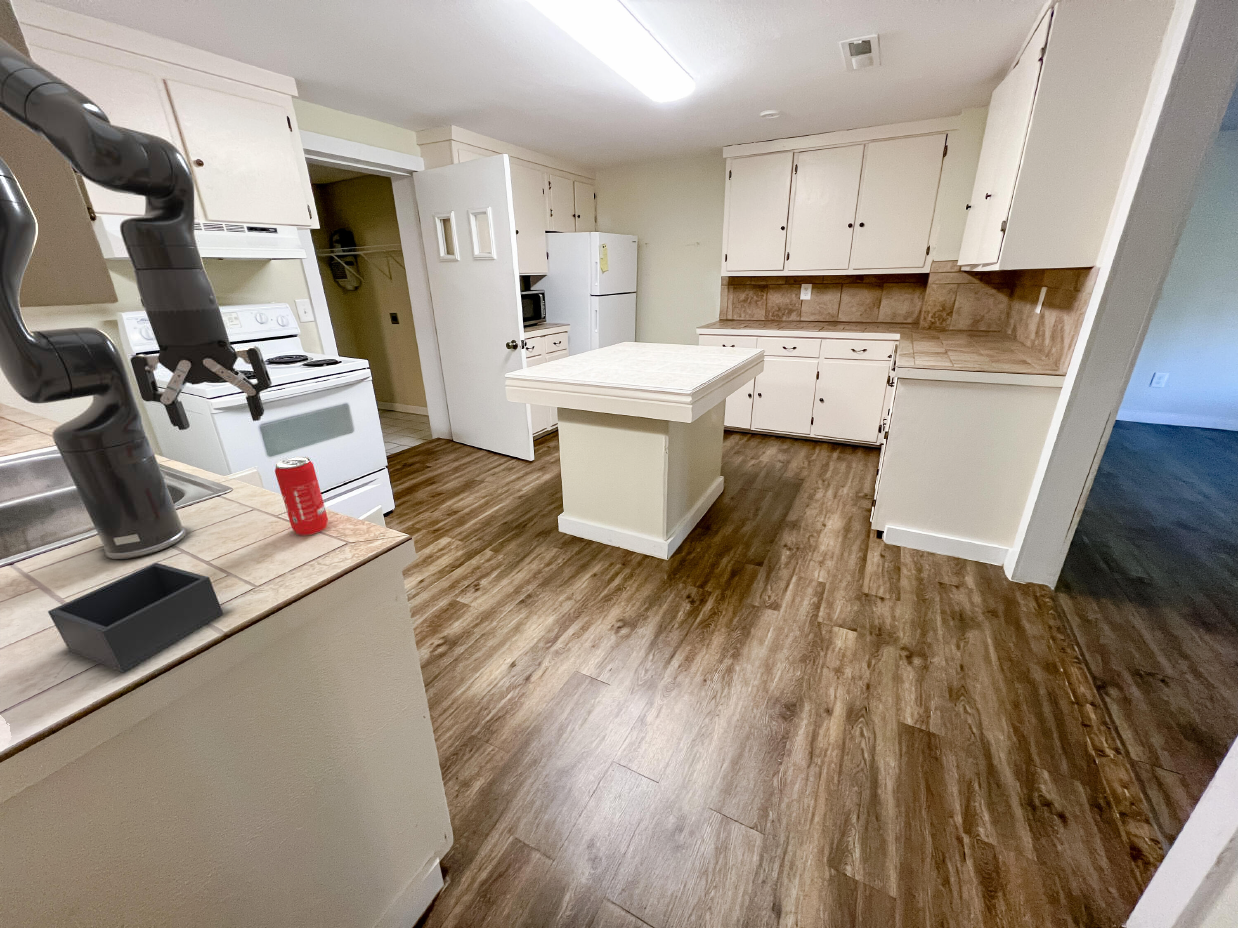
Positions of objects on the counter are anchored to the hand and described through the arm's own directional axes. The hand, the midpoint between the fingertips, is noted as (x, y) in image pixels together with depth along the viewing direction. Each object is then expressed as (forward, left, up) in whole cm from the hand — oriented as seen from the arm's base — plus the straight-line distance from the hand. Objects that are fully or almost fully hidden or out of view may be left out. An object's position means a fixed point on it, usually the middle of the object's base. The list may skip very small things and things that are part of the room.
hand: (221, 424), depth 70 cm
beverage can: (+4, +6, -20) cm, 21 cm away
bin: (+8, -19, -20) cm, 29 cm away
